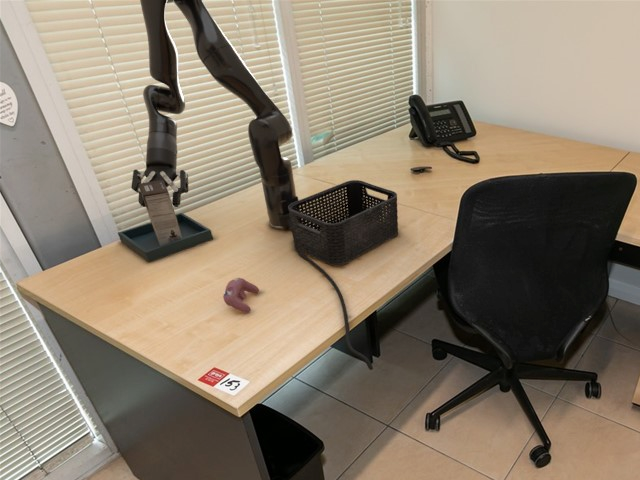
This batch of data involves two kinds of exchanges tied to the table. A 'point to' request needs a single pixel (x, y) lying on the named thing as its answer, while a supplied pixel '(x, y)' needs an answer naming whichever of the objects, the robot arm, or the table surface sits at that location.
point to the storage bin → (343, 222)
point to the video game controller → (238, 294)
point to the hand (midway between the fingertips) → (159, 206)
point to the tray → (150, 249)
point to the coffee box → (160, 211)
